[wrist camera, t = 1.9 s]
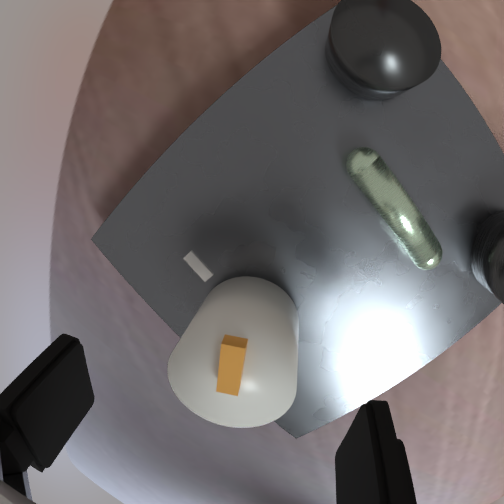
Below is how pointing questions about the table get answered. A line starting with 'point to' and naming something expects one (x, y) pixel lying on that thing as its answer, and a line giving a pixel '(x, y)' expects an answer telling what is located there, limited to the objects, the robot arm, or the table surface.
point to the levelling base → (331, 205)
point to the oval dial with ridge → (239, 355)
